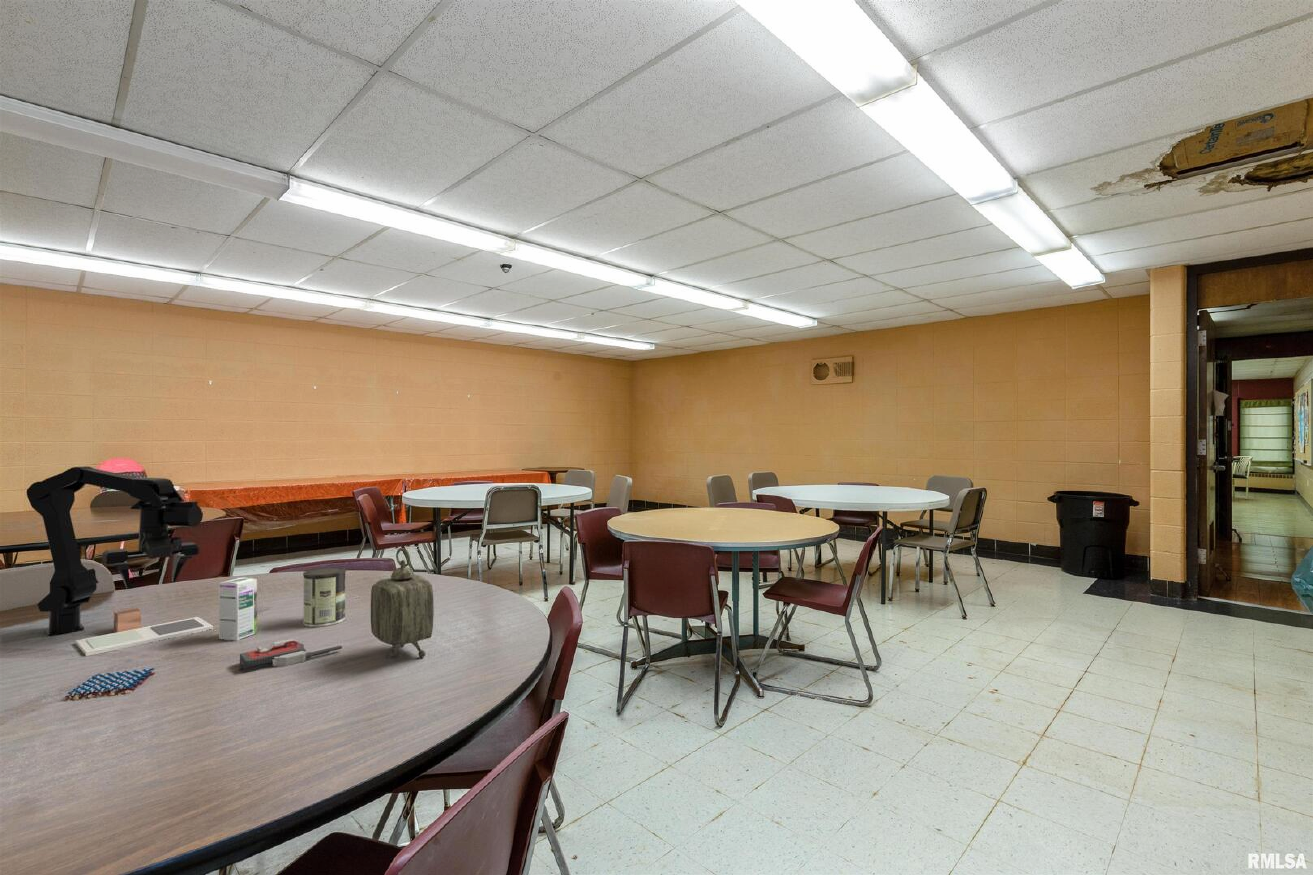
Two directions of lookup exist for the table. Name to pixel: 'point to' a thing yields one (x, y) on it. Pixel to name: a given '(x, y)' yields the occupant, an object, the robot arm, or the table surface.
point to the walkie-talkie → (278, 655)
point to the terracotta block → (127, 620)
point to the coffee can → (324, 596)
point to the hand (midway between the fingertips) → (151, 585)
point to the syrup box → (237, 608)
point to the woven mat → (110, 684)
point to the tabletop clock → (402, 608)
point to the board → (141, 635)
